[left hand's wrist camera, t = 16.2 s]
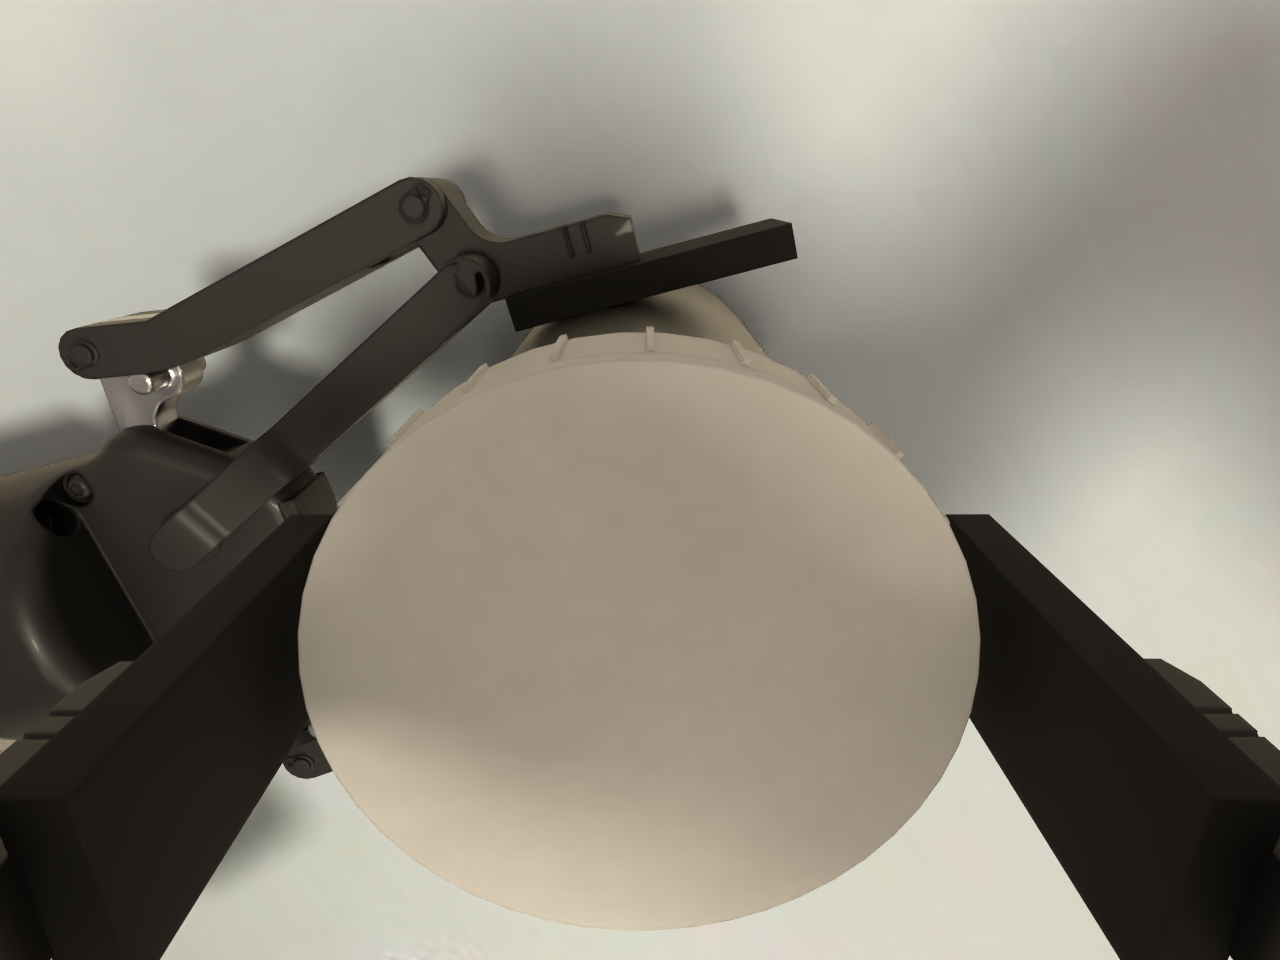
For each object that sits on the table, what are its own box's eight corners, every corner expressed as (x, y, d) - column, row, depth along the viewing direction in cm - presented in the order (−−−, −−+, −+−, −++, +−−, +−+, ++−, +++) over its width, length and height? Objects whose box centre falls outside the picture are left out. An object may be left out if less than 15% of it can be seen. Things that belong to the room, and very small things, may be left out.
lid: (244, 687, 13) (183, 764, 11) (540, 180, 10) (519, 178, 8) (703, 914, 15) (711, 1010, 13) (1064, 551, 12) (1137, 613, 10)
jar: (626, 213, 23) (603, 251, 9) (813, 384, 25) (1042, 643, 11) (467, 408, 26) (246, 691, 11) (651, 551, 28) (663, 945, 13)
